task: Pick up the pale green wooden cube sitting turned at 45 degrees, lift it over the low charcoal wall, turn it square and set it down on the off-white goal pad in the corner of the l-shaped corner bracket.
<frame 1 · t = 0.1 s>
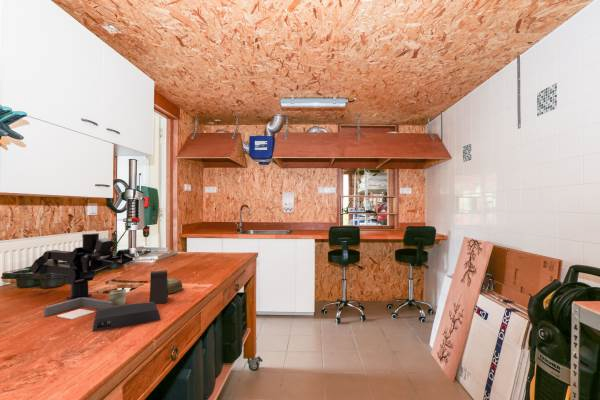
hand: (122, 261, 126), 17 cm above the workbench, tool horizontal, fingers open, 9 cm apart
phone stand: (159, 301, 129), on the workbench
external hard drive: (127, 321, 108), on the workbench
cube: (117, 304, 125), on the workbench
weight: (166, 291, 145), on the workbench
l-shaped corner bracket: (76, 314, 114), on the workbench
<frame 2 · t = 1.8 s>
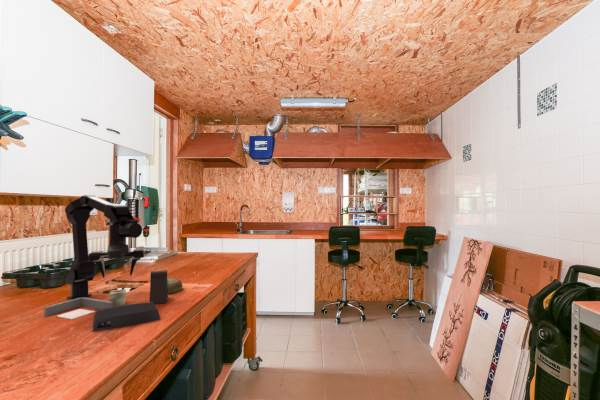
hand: (117, 276, 126), 11 cm above the workbench, tool pointing down, fingers open, 9 cm apart
nothing on the workbench moved.
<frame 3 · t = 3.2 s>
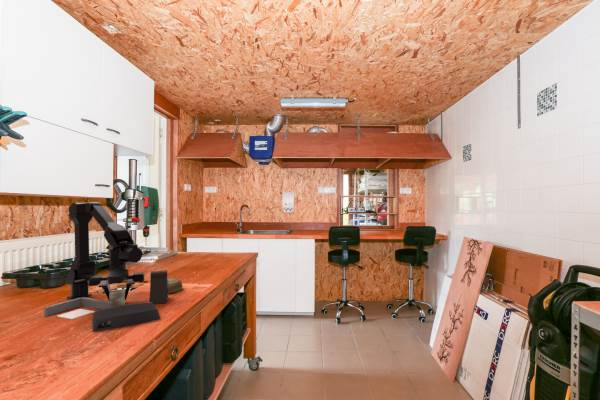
hand: (117, 300, 125), 1 cm above the workbench, tool pointing down, fingers closed on cube, 5 cm apart
cube: (117, 303, 125), on the workbench, touching gripper
everything else where it was.
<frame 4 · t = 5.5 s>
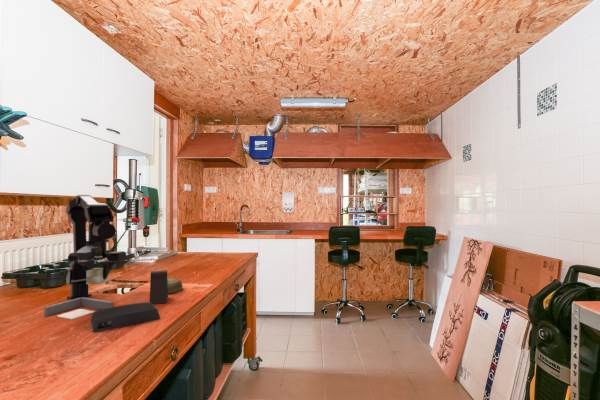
hand: (97, 279, 119), 11 cm above the workbench, tool pointing down, fingers closed on cube, 5 cm apart
cube: (97, 282, 119), point 10 cm above the workbench, touching gripper
everything else where it was.
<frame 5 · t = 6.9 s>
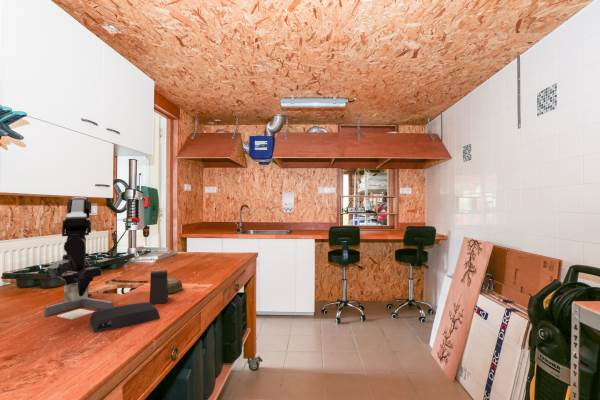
hand: (76, 295, 114), 7 cm above the workbench, tool pointing down, fingers closed on cube, 5 cm apart
cube: (76, 298, 114), point 6 cm above the workbench, touching gripper
everything else where it was.
when the fingers open (3 cm above the workbench, at t = 8.0 s): cube drops 1 cm, resting on l-shaped corner bracket.
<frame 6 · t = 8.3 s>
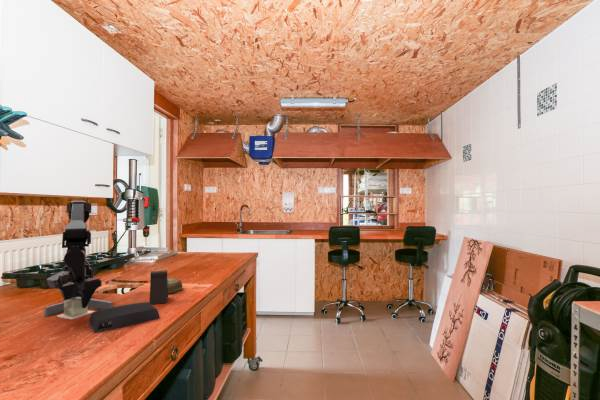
hand: (76, 306, 114), 3 cm above the workbench, tool pointing down, fingers open, 8 cm apart
cube: (75, 313, 114), resting on l-shaped corner bracket
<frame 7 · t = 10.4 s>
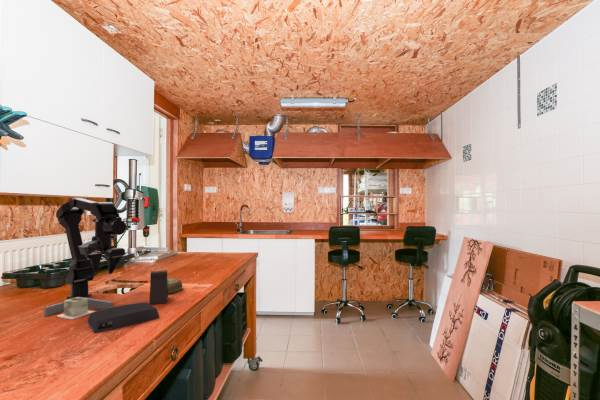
hand: (103, 272, 128), 12 cm above the workbench, tool pointing down, fingers open, 9 cm apart
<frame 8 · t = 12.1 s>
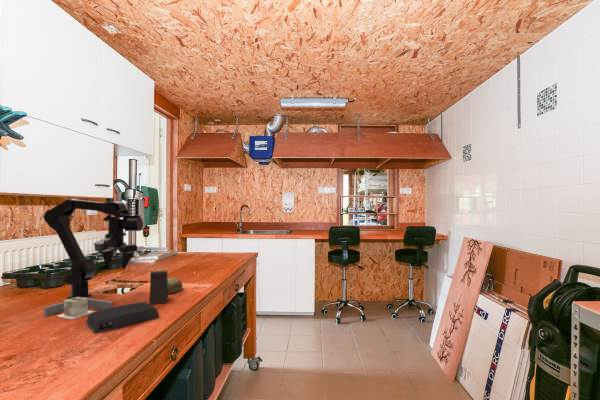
hand: (115, 268, 136), 12 cm above the workbench, tool pointing down, fingers open, 9 cm apart
at the end: cube 0.0 cm from the target spot, resting on l-shaped corner bracket; cube tilted 0°; the gripper is holding nothing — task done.
